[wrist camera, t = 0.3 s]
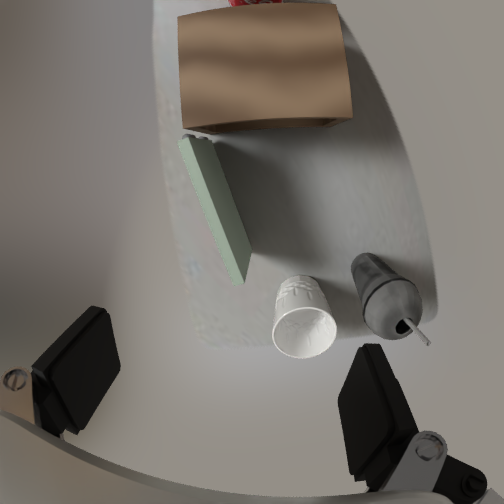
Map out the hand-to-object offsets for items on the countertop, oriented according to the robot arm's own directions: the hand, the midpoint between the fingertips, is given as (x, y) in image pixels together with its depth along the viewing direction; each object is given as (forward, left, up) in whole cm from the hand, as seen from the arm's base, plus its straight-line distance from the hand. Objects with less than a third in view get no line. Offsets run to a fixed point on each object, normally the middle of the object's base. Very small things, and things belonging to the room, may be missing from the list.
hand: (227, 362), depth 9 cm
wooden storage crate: (-17, +2, -30) cm, 34 cm away
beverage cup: (+10, +15, -30) cm, 35 cm away
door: (-1, -5, -29) cm, 30 cm away
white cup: (+14, +5, -30) cm, 33 cm away
